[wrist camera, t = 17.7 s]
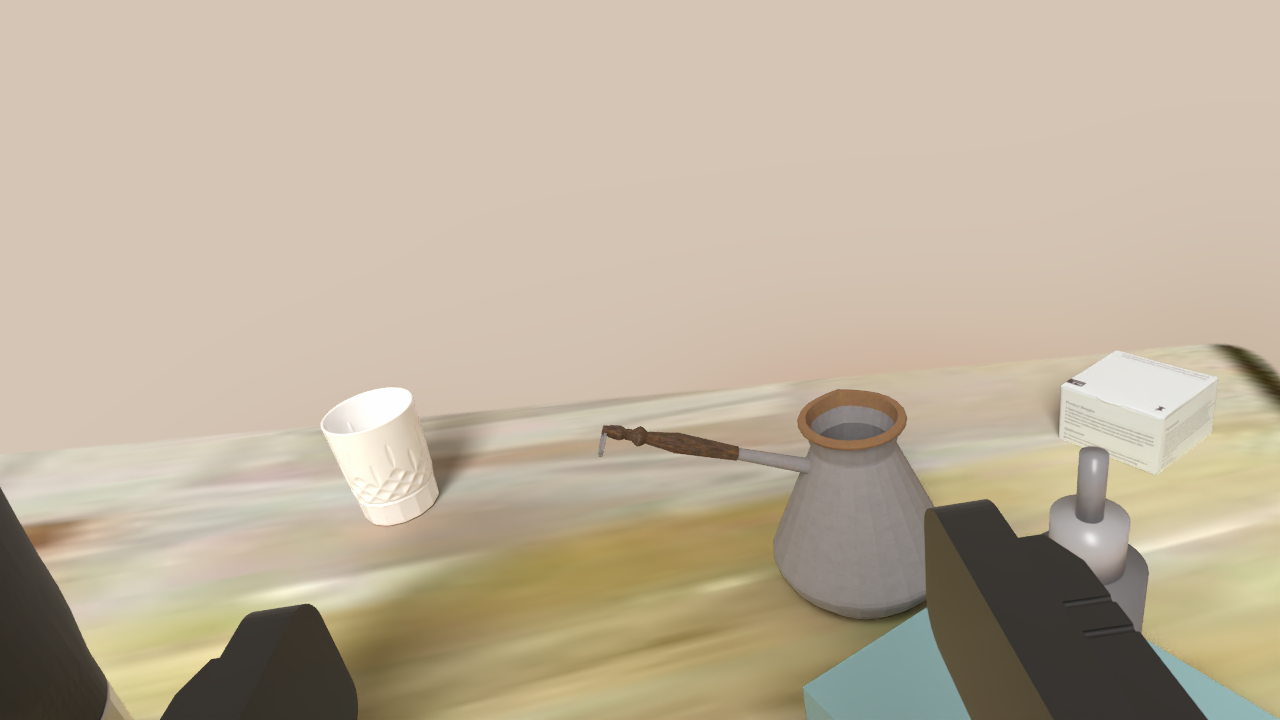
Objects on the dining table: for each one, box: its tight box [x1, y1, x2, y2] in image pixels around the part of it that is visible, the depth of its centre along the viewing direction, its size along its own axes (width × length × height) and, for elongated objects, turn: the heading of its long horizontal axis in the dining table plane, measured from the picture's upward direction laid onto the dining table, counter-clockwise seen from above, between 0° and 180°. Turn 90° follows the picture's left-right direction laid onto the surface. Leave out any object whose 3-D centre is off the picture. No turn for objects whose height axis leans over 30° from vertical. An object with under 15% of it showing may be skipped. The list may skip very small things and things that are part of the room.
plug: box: [1043, 446, 1149, 633], centre depth 34 cm, size 4×4×19 cm
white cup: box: [321, 387, 439, 526], centre depth 70 cm, size 8×8×10 cm
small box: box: [1059, 350, 1219, 476], centre depth 61 cm, size 8×8×5 cm
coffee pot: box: [599, 389, 934, 619], centre depth 50 cm, size 21×12×15 cm, turn 91°
